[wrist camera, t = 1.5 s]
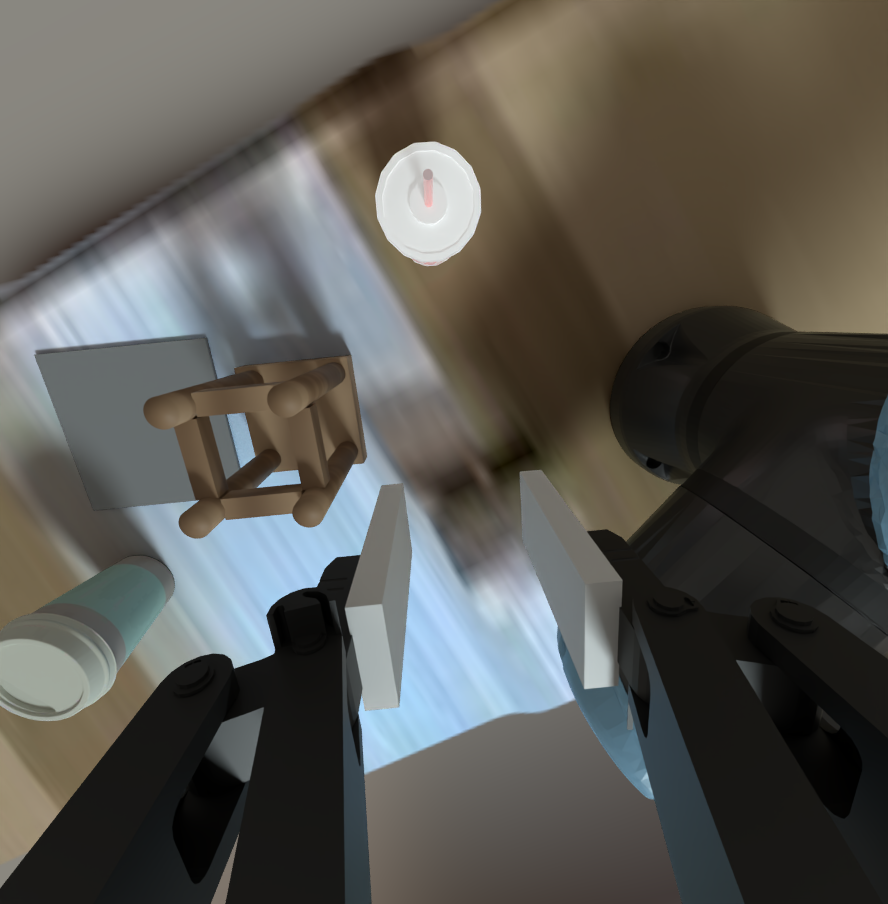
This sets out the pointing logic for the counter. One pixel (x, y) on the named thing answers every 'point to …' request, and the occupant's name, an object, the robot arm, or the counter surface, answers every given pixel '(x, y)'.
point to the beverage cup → (428, 202)
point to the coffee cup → (80, 640)
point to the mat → (130, 419)
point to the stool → (267, 439)
